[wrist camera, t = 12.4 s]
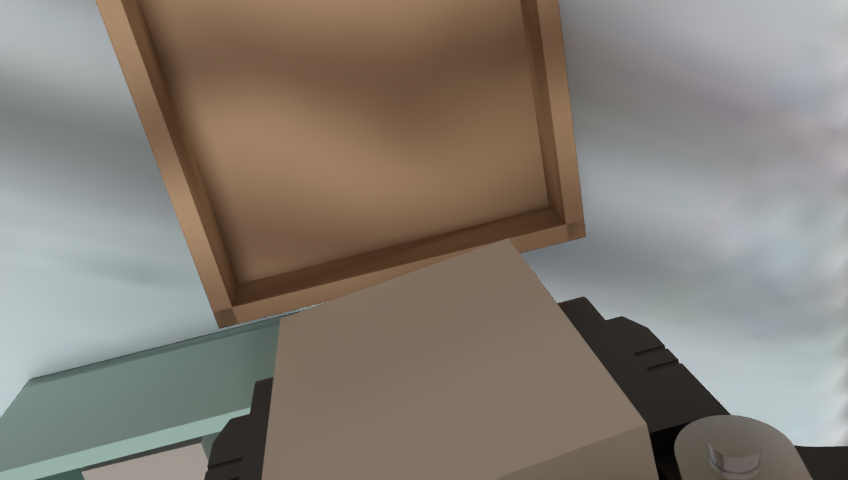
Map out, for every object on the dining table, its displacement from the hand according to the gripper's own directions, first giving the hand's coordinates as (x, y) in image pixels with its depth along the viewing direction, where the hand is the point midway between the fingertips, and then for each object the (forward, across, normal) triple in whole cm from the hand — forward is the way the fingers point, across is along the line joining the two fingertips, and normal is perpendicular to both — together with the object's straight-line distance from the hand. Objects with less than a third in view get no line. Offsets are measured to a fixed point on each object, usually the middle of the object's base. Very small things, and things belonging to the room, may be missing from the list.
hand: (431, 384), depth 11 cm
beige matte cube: (0, 0, 0) cm, 0 cm away
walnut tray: (+15, 0, -4) cm, 15 cm away
